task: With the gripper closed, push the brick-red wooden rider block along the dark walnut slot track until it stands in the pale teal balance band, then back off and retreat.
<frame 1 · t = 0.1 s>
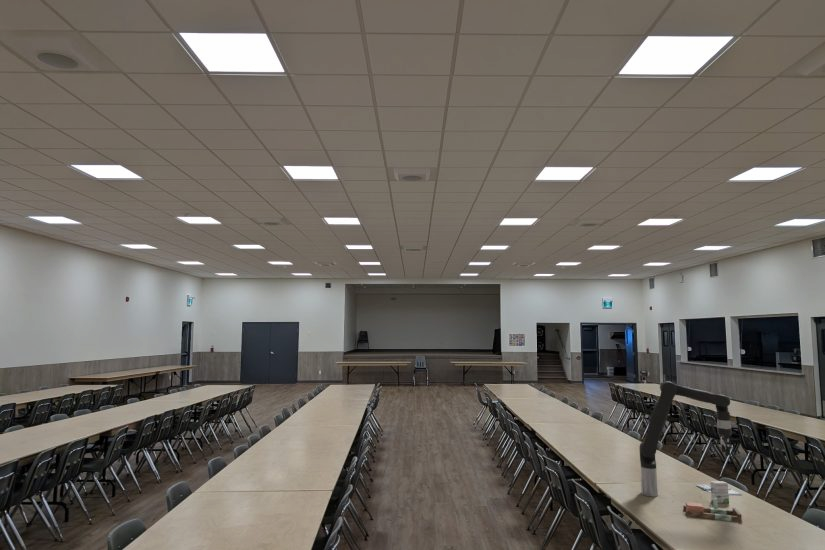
hand: (725, 453, 310), 29 cm above the table, fingers open, 8 cm apart
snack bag: (718, 491, 330), on the table
rider: (695, 514, 286), on the table
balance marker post: (715, 510, 292), on the table
ink box: (720, 501, 308), on the table
slot track: (711, 515, 284), on the table
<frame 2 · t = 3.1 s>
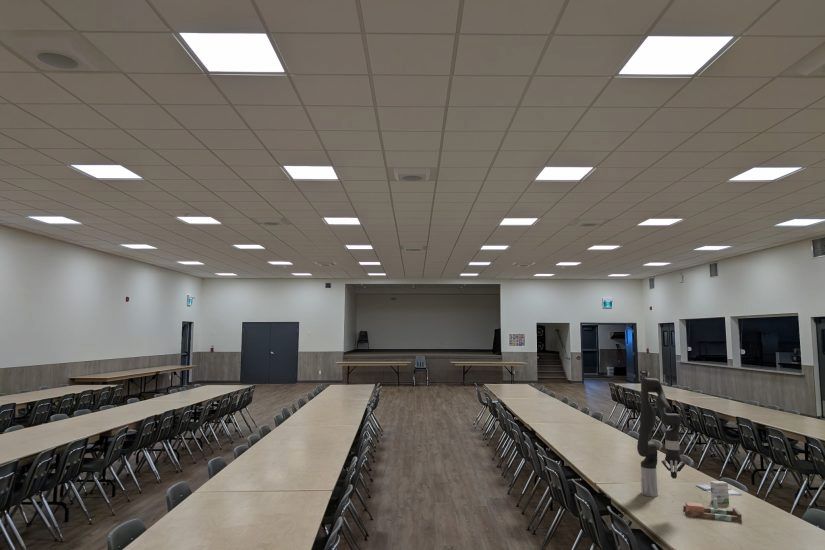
hand: (674, 478, 292), 19 cm above the table, fingers closed
nothing on the table moved.
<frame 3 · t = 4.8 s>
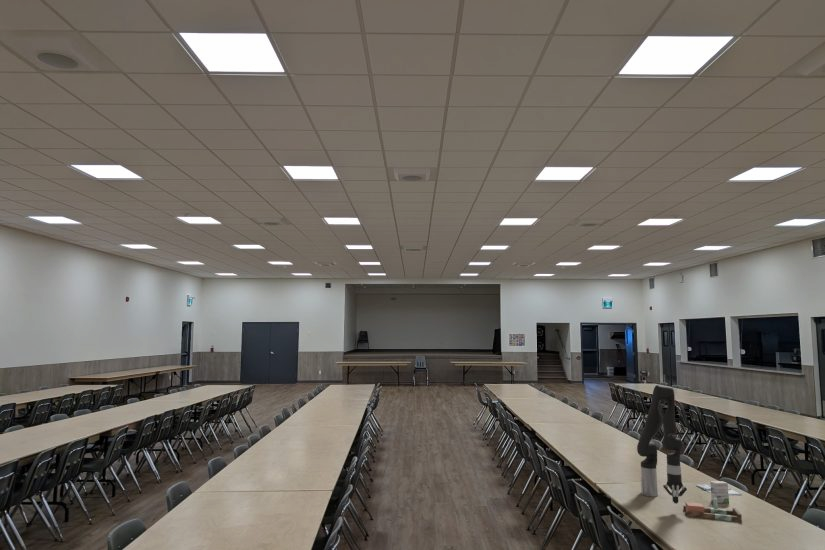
hand: (675, 503, 290), 5 cm above the table, fingers closed
nothing on the table moved.
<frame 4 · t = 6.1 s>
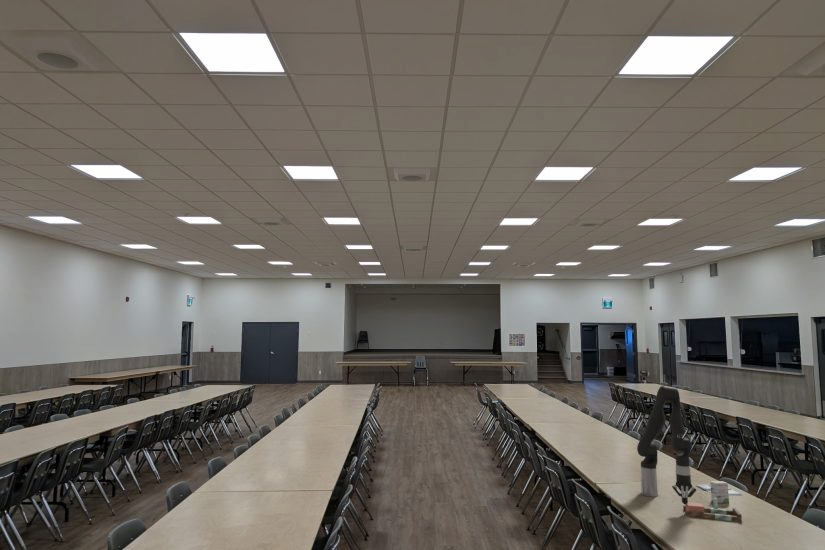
hand: (684, 504, 288), 5 cm above the table, fingers closed
rider: (695, 514, 286), on the table, touching gripper
everything else where it was.
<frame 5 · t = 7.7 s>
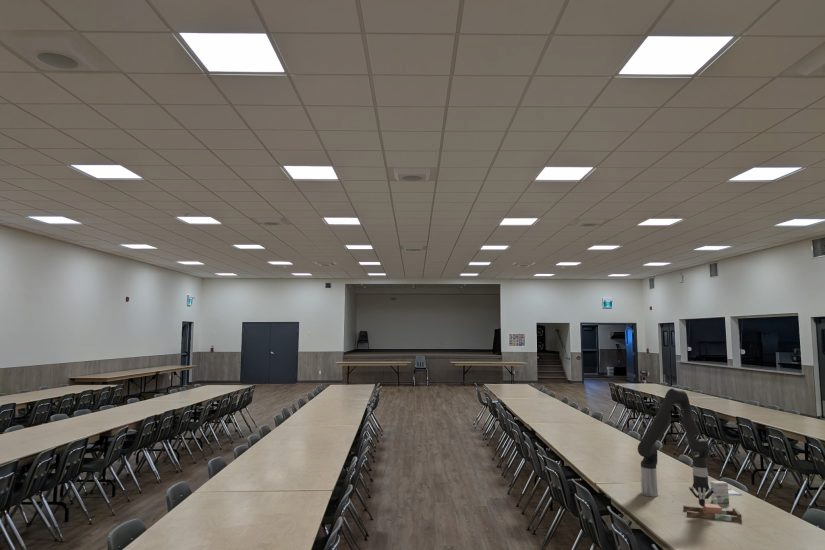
hand: (702, 505, 286), 5 cm above the table, fingers closed
rider: (712, 515, 284), on the table, touching gripper
everything else where it was.
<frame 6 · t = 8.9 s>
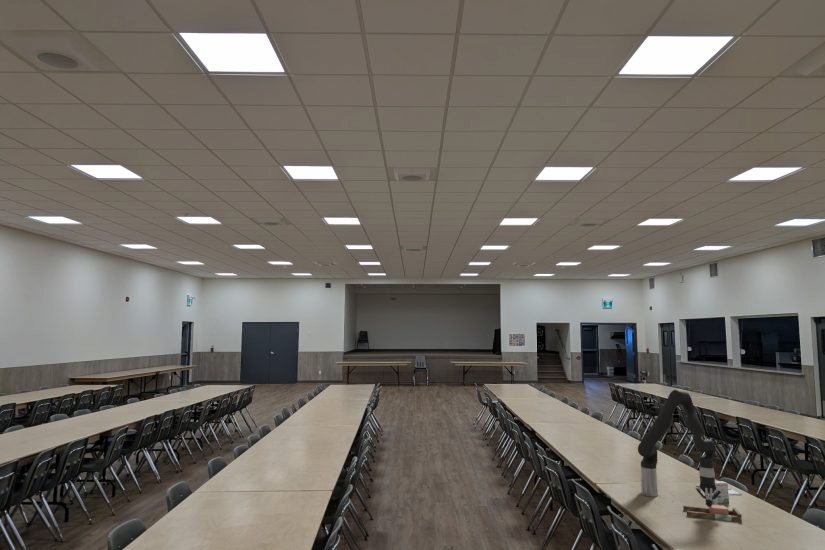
hand: (709, 506, 285), 5 cm above the table, fingers closed
rider: (719, 516, 283), on the table
everything else where it was.
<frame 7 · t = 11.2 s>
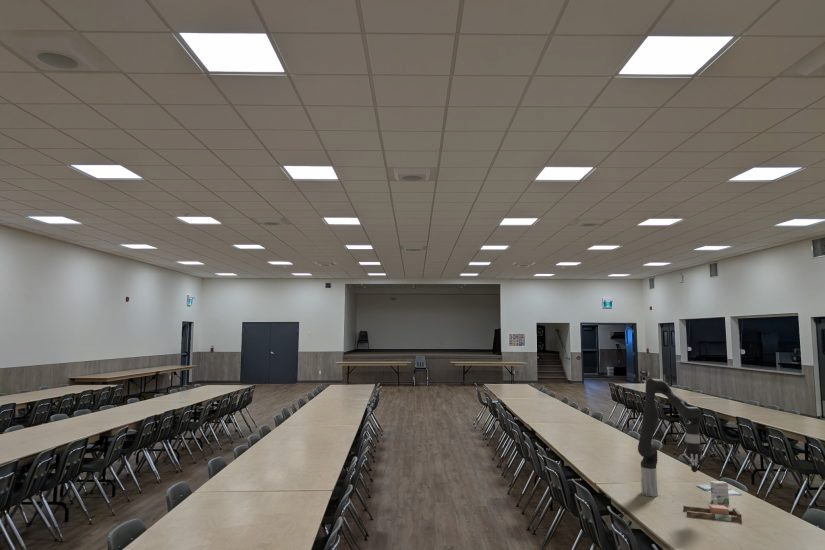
hand: (694, 471, 290), 23 cm above the table, fingers closed
nothing on the table moved.
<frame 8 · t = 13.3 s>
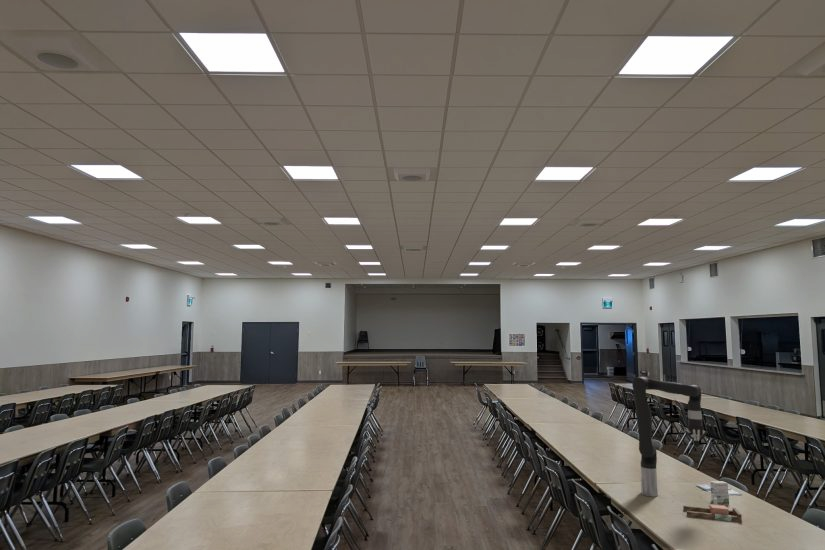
hand: (696, 446, 304), 35 cm above the table, fingers closed
nothing on the table moved.
at the end: rider inside the target area (0.7 cm from its centre), on the table; rider tilted 0°; rider moved 12.5 cm from its start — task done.
